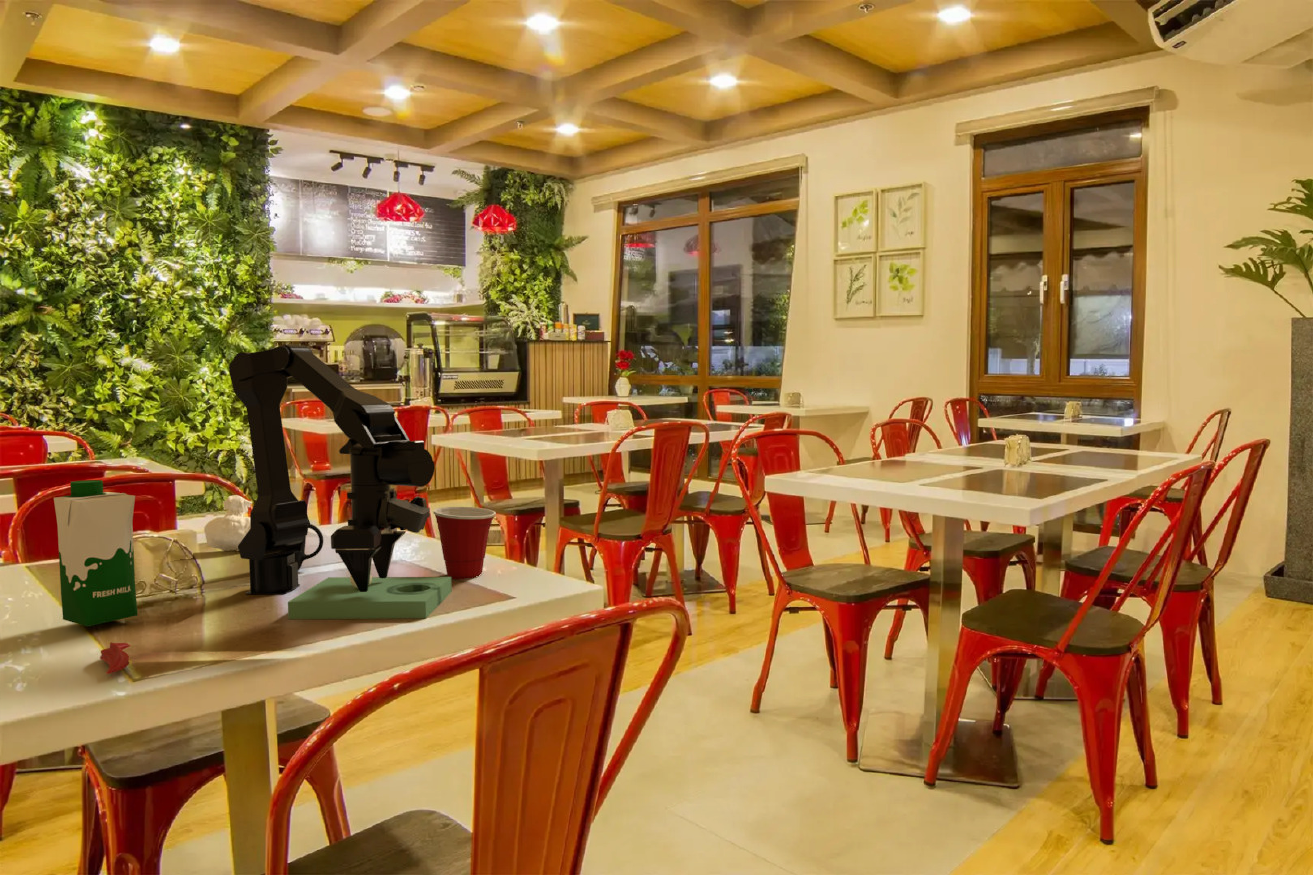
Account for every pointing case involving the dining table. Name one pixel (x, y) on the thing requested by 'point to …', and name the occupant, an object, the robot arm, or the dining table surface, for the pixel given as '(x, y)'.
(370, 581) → the ball
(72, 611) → the milk carton
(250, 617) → the dining table surface
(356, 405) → the robot arm
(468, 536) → the plastic cup
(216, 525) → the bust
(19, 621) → the dining table surface
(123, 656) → the cayenne pepper
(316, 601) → the putting mat
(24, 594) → the dining table surface
